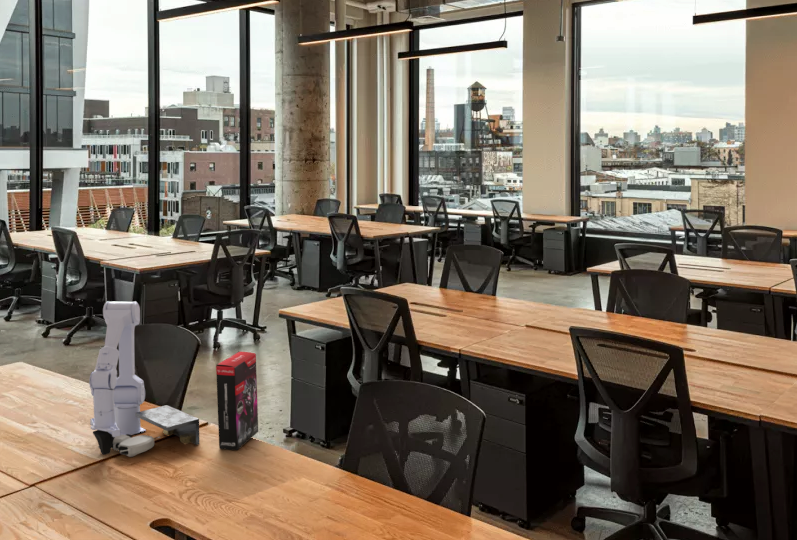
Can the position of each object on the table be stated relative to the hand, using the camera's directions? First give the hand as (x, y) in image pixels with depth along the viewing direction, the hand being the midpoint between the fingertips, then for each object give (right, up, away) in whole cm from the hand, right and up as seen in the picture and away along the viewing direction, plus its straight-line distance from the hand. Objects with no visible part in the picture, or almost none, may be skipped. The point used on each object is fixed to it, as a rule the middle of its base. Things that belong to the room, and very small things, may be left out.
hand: (105, 453), depth 222 cm
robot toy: (+5, -1, +6) cm, 8 cm away
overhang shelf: (+14, 0, +15) cm, 20 cm away
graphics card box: (+36, 0, +16) cm, 39 cm away
